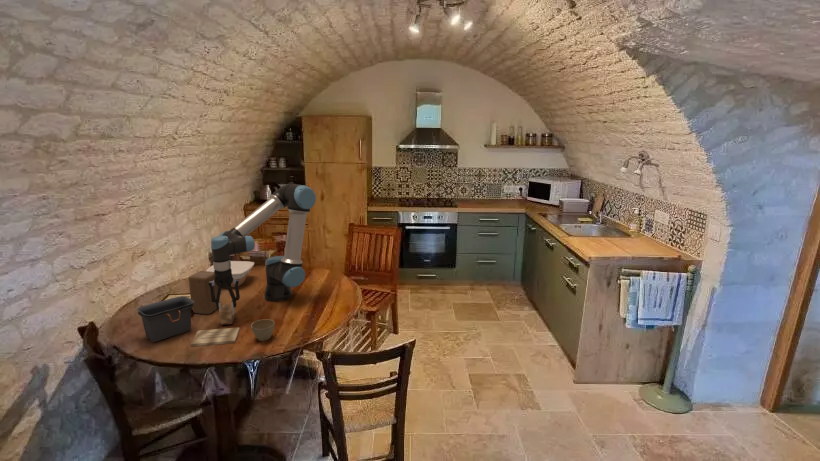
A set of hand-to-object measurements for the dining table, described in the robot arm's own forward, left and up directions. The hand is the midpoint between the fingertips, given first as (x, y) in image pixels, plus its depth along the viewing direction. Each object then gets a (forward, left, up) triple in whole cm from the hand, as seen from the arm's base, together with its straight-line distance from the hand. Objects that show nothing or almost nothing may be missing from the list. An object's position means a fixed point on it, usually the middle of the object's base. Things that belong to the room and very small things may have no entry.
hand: (227, 313), depth 210 cm
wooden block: (+13, -17, -5) cm, 22 cm away
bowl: (+7, -56, -5) cm, 56 cm away
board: (+2, +16, -4) cm, 17 cm away
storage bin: (+23, +8, -5) cm, 25 cm away
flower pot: (-19, +20, -5) cm, 28 cm away
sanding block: (0, 0, -3) cm, 3 cm away
